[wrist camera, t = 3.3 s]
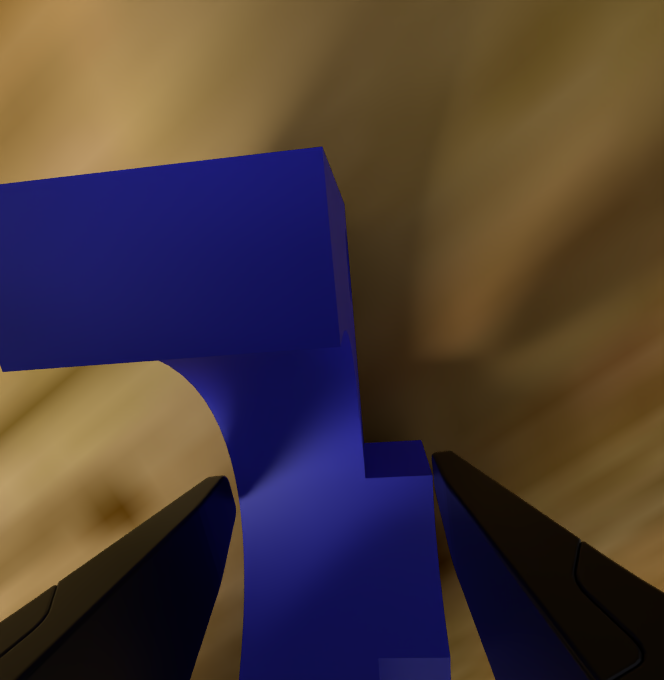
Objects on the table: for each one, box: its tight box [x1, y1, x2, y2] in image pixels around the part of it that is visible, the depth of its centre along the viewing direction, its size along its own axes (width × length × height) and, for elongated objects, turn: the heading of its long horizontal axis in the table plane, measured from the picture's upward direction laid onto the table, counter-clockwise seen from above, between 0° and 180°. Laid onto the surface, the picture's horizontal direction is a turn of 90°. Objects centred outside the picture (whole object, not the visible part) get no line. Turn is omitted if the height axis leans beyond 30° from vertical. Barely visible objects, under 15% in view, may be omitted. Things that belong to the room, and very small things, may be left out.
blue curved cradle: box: [0, 147, 451, 680], centre depth 7 cm, size 12×4×6 cm, turn 6°
